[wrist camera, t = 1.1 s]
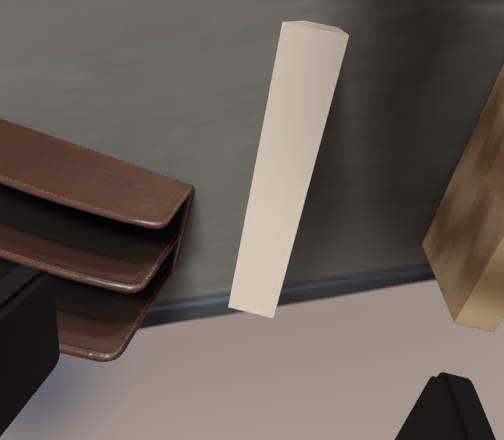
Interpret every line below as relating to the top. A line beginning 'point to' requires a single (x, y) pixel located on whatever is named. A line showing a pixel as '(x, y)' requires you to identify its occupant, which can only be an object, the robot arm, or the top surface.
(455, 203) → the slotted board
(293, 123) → the cream angled block
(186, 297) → the top surface
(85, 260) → the letter holder
